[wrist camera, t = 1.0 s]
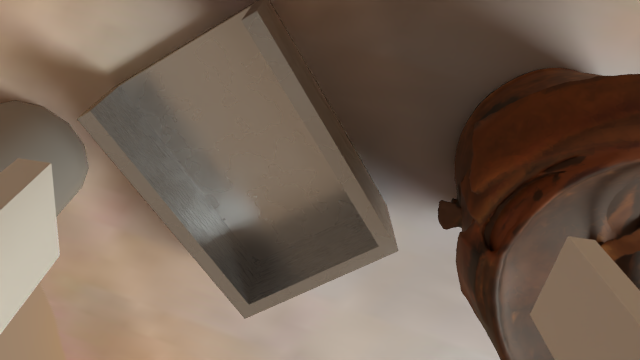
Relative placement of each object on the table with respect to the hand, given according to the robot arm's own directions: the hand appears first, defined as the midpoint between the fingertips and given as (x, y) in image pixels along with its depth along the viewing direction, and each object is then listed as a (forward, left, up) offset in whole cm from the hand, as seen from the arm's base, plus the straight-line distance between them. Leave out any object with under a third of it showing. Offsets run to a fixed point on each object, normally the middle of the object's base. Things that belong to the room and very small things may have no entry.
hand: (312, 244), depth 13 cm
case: (+15, +11, -23) cm, 30 cm away
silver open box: (+5, -7, -23) cm, 25 cm away
